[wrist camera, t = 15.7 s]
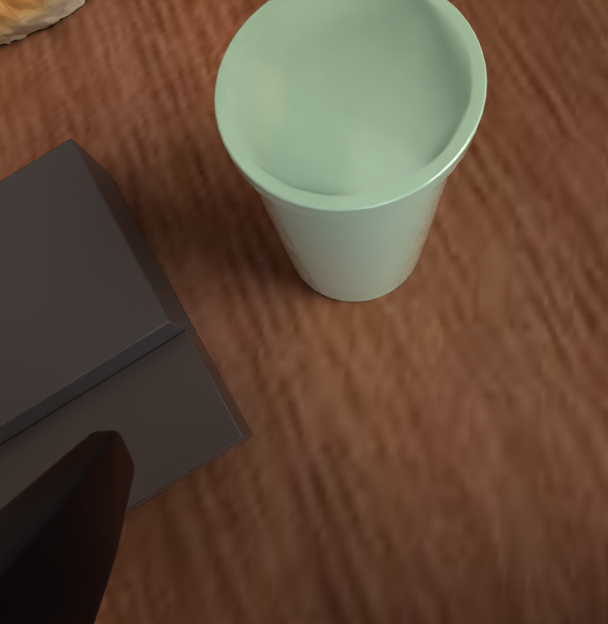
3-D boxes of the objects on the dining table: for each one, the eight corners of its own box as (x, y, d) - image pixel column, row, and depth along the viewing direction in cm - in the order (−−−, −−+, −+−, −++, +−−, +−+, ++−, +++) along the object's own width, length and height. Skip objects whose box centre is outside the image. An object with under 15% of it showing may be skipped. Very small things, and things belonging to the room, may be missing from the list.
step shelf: (253, 435, 20) (232, 439, 16) (-54, 626, 20) (-133, 666, 16) (110, 174, 23) (71, 136, 20) (-150, 334, 23) (-231, 322, 20)
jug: (437, 301, 20) (507, 194, 10) (285, 313, 21) (214, 223, 11) (415, 120, 22) (457, -117, 12) (277, 137, 22) (210, -74, 13)
